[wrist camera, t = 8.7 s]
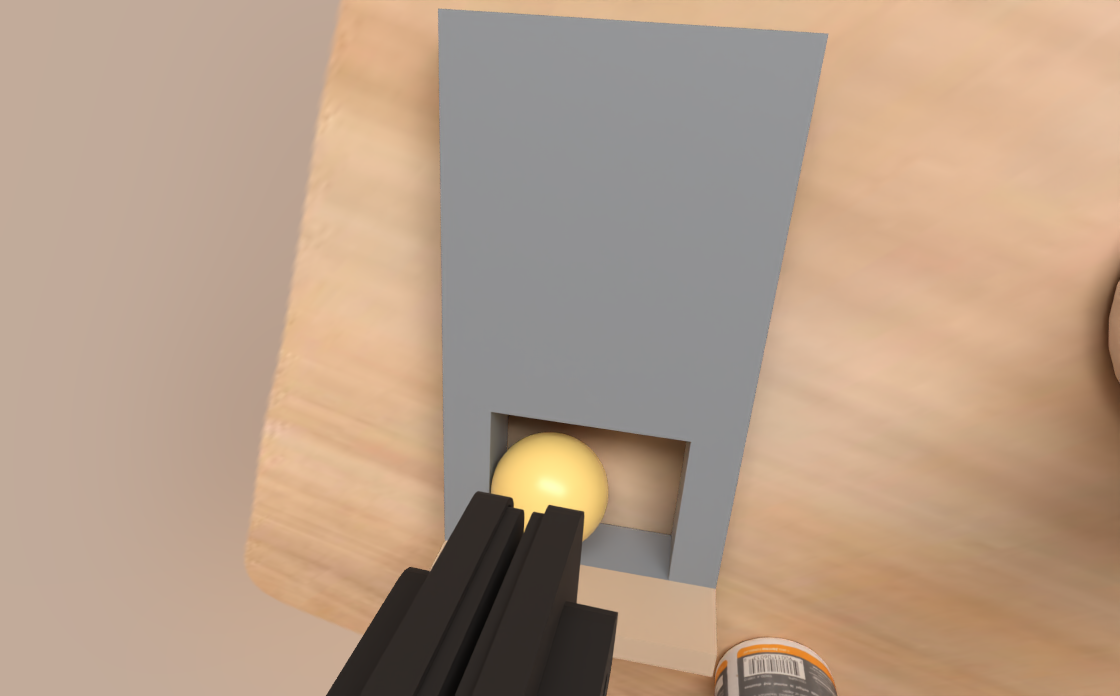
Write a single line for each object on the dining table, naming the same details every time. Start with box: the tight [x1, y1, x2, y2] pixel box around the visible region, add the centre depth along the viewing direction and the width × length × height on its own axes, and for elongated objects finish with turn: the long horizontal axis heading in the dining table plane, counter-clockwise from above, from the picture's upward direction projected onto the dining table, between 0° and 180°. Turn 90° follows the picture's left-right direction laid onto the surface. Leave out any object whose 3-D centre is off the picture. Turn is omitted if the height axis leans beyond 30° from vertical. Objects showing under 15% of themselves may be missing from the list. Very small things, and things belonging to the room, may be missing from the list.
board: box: [430, 9, 828, 677], centre depth 26 cm, size 12×24×6 cm, turn 177°
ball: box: [491, 432, 608, 542], centre depth 30 cm, size 5×5×5 cm
